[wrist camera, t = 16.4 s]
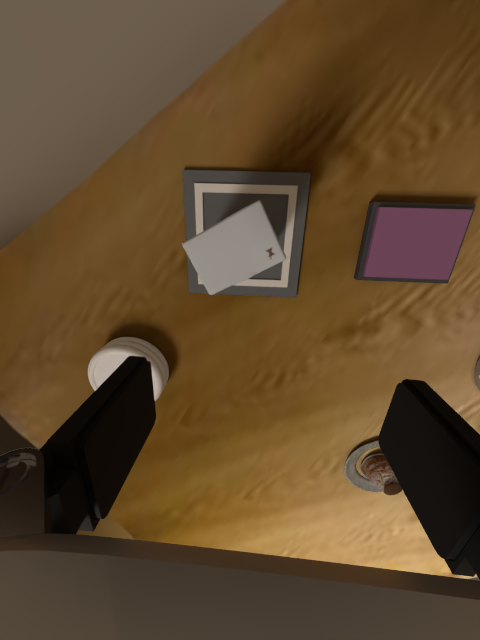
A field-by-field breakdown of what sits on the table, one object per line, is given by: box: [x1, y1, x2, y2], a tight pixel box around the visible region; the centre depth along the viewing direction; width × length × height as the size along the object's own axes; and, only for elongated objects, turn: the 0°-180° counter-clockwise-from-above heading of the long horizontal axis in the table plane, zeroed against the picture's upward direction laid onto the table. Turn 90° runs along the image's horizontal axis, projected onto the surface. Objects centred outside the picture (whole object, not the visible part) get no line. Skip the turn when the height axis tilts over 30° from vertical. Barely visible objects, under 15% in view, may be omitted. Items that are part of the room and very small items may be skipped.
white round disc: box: [88, 337, 169, 401], centre depth 34 cm, size 10×10×4 cm
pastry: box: [344, 441, 402, 495], centre depth 38 cm, size 12×12×5 cm
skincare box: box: [182, 200, 286, 295], centre depth 22 cm, size 6×4×12 cm
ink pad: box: [354, 202, 476, 283], centre depth 26 cm, size 10×8×2 cm
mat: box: [183, 170, 311, 297], centre depth 27 cm, size 13×13×1 cm
